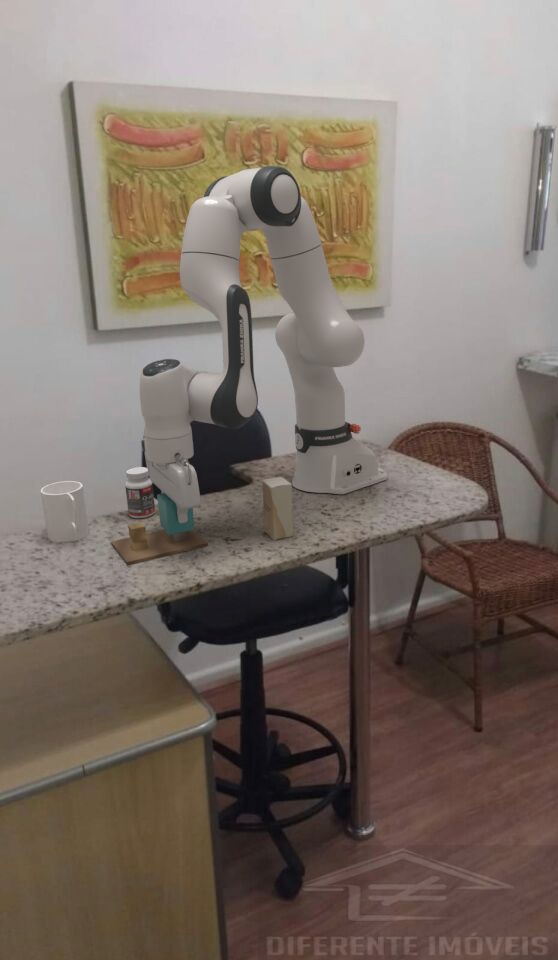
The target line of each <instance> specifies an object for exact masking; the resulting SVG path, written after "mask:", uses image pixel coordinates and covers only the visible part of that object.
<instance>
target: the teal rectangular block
mask: <svg viewBox="0 0 558 960" xmlns="http://www.w3.org/2000/svg"><path fill="white" fill-rule="evenodd" d="M156 497H157V505H158V515H159V524H160V527H161V528H162V530H165V531H166V532H167V533H168V534H169V535H172V534H176V533H180V532H185V531H189V530H193V529H194V530H195V529H196V528H195V517H194V508H191V509H188V513H187V516H188V521H187V522H184V523H179V522H178V521H177V519H176V513H177V506H176V503H175V502H174V501H172V500H171V499H170V498H169V497H168V496H167V495H166V494H165V493H163V494H162V493H160V494H156Z"/></svg>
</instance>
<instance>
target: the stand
mask: <svg viewBox="0 0 558 960" xmlns="http://www.w3.org/2000/svg"><path fill="white" fill-rule="evenodd" d="M127 526H128V527H127V528H128V535H129V537H126V538H122V539H117V540H112V541H111V546H112V547H113V549H115V551H116V552H117V553H118V555H119V557H121V559H122V560H123V562H124V563H125V564H126V566H130V565H134V564H138V563H143V562H146V561H149V560H154V559H157V558H163V557H166V556H170V555H171V556H172V555H174V554H179V553H183V552H188V551H192V550H195V549H199V548H203V547H208V546H209V541H207V540H206V539H205V538H204V537H203V536H202V535H200V534H199V533H198V532H197V531H196V530H195V529H193V530H189V531H185V532H180V533H176V534H172V535H169V534H168V533H167V532H166V531H165V530H164V529H161V530H157V531H152V532H148V533H147V529H146V526H145V524H144V523H143V522H142V521H140V522H139V521H138V522H135V523H130V524H128V525H127Z"/></svg>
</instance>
